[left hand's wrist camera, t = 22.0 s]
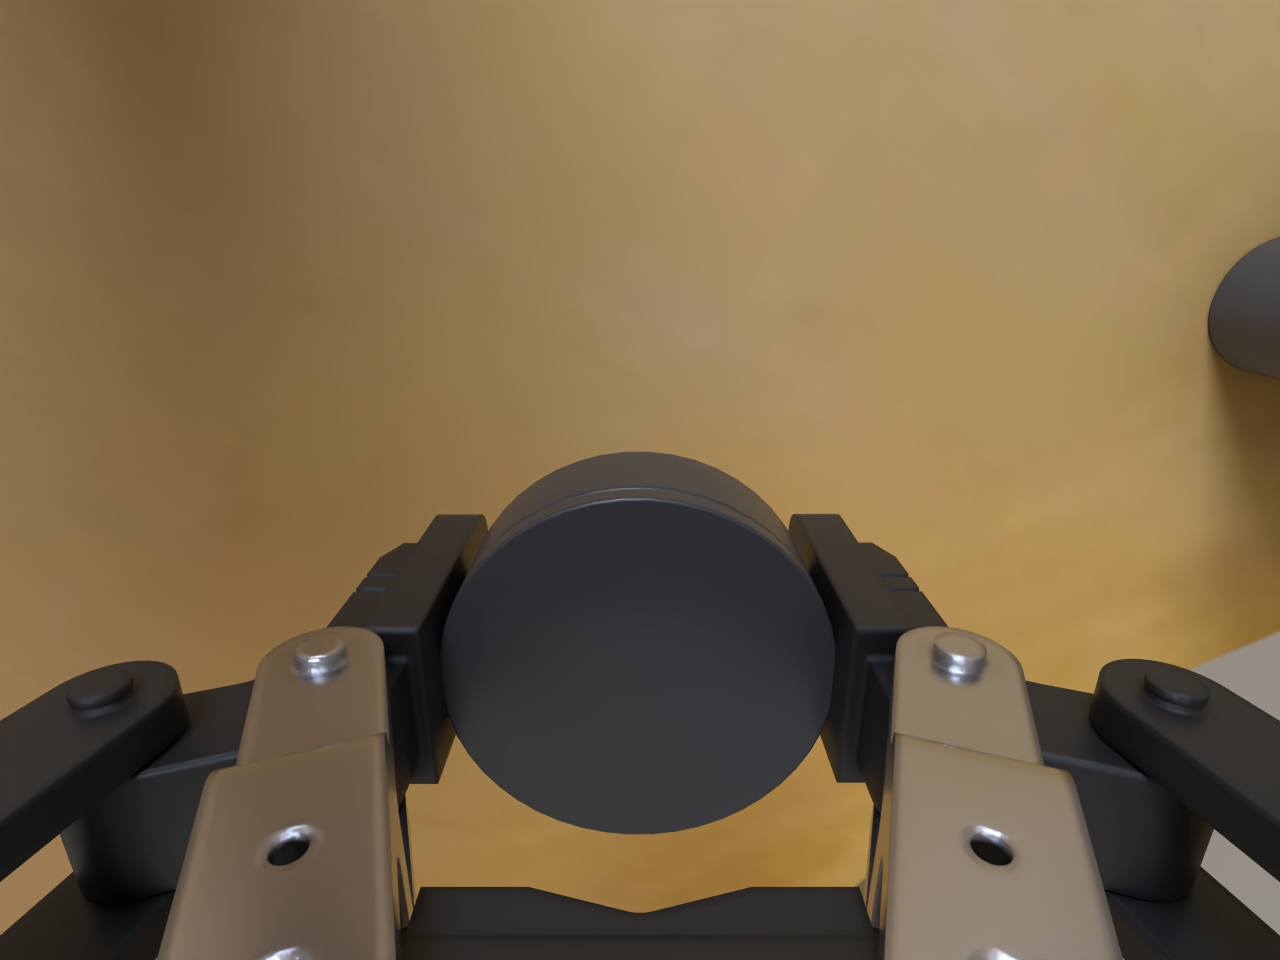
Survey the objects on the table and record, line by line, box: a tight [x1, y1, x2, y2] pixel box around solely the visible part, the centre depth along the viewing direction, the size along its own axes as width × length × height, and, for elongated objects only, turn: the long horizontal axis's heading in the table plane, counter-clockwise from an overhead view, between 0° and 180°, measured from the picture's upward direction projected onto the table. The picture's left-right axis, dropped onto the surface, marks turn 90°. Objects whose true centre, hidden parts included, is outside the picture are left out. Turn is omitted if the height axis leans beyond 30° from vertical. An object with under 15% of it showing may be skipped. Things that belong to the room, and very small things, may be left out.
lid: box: [440, 452, 836, 834], centre depth 10 cm, size 5×5×2 cm
